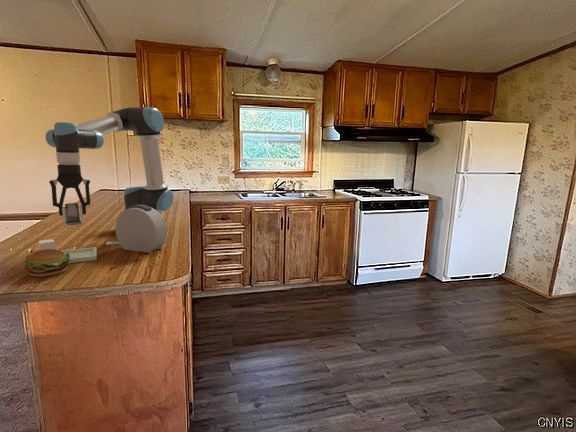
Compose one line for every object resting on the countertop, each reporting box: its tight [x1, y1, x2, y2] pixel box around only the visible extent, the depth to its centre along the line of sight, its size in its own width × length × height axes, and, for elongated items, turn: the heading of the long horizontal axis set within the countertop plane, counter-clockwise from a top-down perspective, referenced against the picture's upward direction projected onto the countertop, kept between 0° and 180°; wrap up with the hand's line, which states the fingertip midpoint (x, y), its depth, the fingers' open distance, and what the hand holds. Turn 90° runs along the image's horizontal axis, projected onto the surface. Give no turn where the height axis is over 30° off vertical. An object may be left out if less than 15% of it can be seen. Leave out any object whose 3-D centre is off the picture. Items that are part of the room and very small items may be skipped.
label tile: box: [106, 240, 120, 246], centre depth 162 cm, size 6×4×1 cm, turn 118°
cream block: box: [37, 238, 57, 251], centre depth 145 cm, size 5×5×5 cm
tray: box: [60, 246, 98, 264], centre depth 140 cm, size 14×14×2 cm
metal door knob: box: [64, 202, 82, 226], centre depth 137 cm, size 5×5×8 cm
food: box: [22, 248, 70, 278], centre depth 123 cm, size 14×14×8 cm
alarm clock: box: [114, 205, 168, 253], centre depth 153 cm, size 21×8×20 cm, turn 74°
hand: (73, 223), depth 138 cm, fingers closed on metal door knob, 5 cm apart
